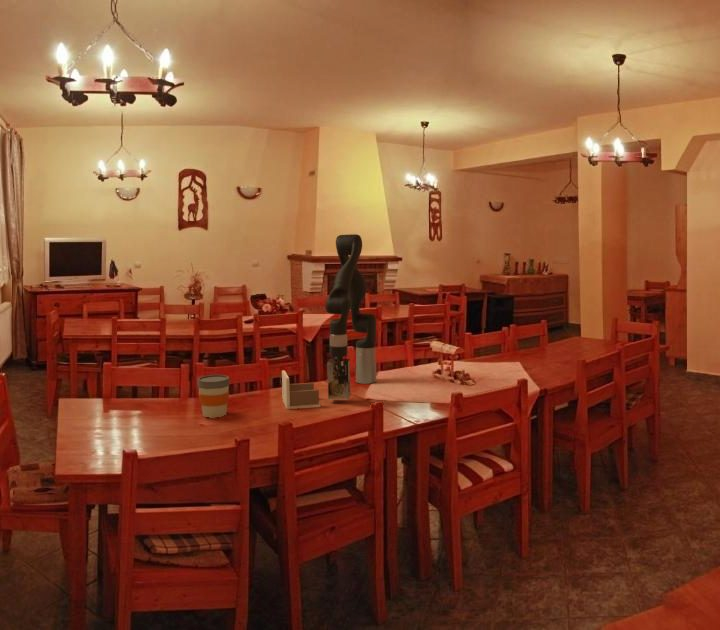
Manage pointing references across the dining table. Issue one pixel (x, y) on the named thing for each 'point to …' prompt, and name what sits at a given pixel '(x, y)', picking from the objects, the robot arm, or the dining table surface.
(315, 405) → the book rack
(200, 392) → the reusable coffee cup
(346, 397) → the coffee box
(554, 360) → the dining table surface
